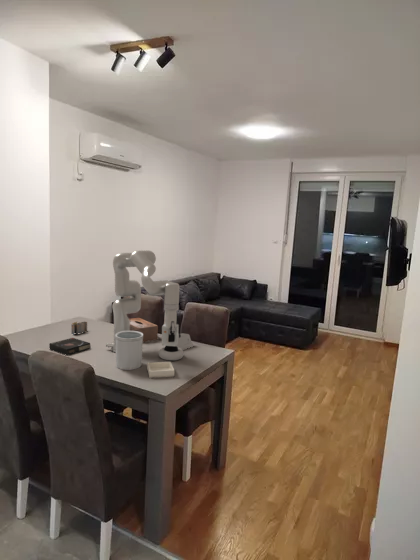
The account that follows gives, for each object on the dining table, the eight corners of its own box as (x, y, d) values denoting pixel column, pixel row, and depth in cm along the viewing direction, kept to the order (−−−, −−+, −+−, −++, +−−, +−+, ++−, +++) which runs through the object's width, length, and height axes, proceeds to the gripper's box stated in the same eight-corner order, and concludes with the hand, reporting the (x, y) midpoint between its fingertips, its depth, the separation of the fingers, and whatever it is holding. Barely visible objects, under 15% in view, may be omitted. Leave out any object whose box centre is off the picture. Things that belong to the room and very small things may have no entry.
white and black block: (176, 352, 229) (173, 336, 230) (171, 352, 232) (167, 337, 233) (194, 346, 242) (191, 331, 243) (189, 347, 245) (185, 332, 246)
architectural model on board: (74, 336, 252) (74, 322, 251) (71, 335, 254) (71, 321, 252) (87, 332, 262) (87, 319, 261) (84, 331, 263) (84, 318, 262)
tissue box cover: (120, 333, 263) (120, 319, 261) (138, 330, 272) (138, 317, 271) (138, 343, 243) (138, 328, 242) (157, 339, 253) (157, 325, 251)
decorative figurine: (188, 358, 219) (190, 325, 216) (168, 363, 209) (170, 329, 206) (173, 351, 229) (174, 320, 227) (153, 356, 219) (154, 323, 217)
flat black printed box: (67, 356, 213) (67, 349, 213) (49, 349, 222) (49, 343, 222) (90, 349, 227) (90, 343, 226) (72, 343, 236) (72, 337, 236)
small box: (178, 343, 198) (179, 324, 197) (176, 346, 193) (177, 327, 192) (163, 342, 199) (164, 323, 198) (161, 345, 193) (162, 325, 192)
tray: (149, 378, 187) (149, 371, 186) (146, 369, 199) (147, 362, 198) (174, 376, 190) (174, 370, 190) (170, 367, 202) (170, 361, 202)
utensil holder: (136, 371, 194) (137, 339, 192) (110, 368, 197) (110, 336, 195) (146, 362, 209) (147, 332, 206) (121, 359, 211) (122, 329, 209)
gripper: (161, 303, 200) (160, 335, 203) (167, 310, 184) (165, 345, 186) (175, 303, 202) (173, 334, 205) (182, 310, 186) (180, 344, 188)
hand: (169, 339), depth 196 cm, fingers closed on small box, 7 cm apart
